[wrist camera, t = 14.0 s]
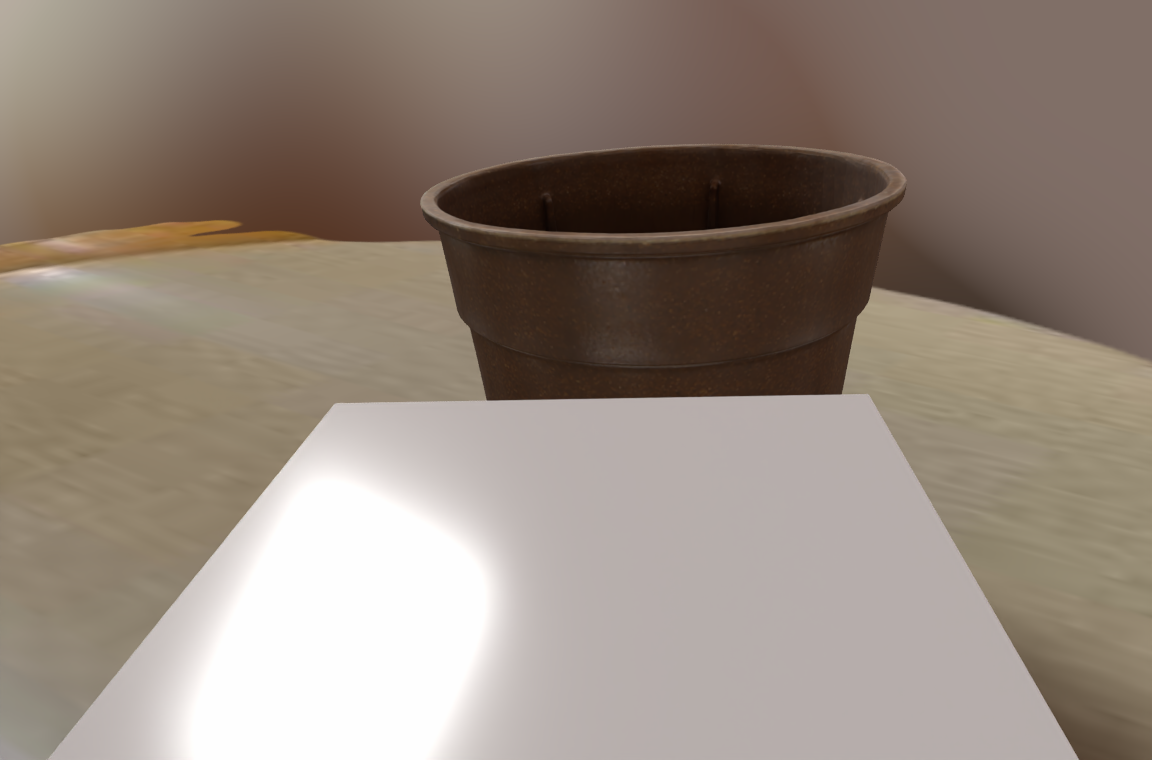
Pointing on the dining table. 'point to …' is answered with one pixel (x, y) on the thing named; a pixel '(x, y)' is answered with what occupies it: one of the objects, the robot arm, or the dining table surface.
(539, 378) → the plant pot
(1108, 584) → the dining table surface
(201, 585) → the white lidded box
